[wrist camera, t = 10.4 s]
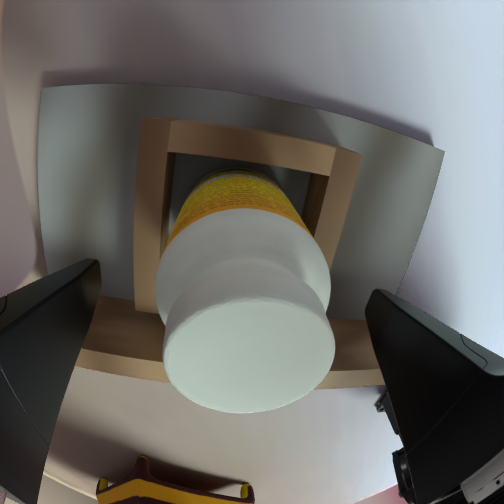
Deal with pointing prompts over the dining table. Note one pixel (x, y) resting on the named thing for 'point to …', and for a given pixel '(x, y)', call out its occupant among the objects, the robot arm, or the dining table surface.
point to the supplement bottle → (243, 297)
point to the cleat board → (197, 167)
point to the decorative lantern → (161, 491)
